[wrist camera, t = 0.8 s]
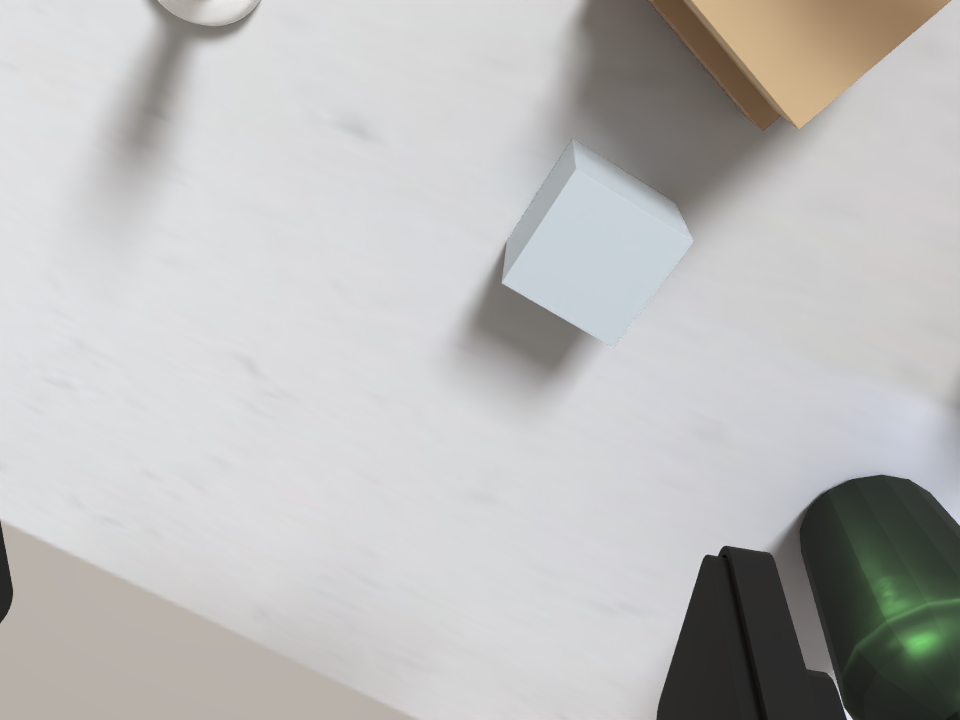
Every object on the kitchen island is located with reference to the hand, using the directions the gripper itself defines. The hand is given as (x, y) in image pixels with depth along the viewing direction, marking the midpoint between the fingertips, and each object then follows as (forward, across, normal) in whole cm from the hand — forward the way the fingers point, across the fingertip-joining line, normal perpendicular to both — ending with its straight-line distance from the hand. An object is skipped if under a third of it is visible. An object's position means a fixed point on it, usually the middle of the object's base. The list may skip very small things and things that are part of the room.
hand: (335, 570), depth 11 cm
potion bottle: (+27, -20, +16) cm, 37 cm away
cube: (+26, -4, +3) cm, 27 cm away
